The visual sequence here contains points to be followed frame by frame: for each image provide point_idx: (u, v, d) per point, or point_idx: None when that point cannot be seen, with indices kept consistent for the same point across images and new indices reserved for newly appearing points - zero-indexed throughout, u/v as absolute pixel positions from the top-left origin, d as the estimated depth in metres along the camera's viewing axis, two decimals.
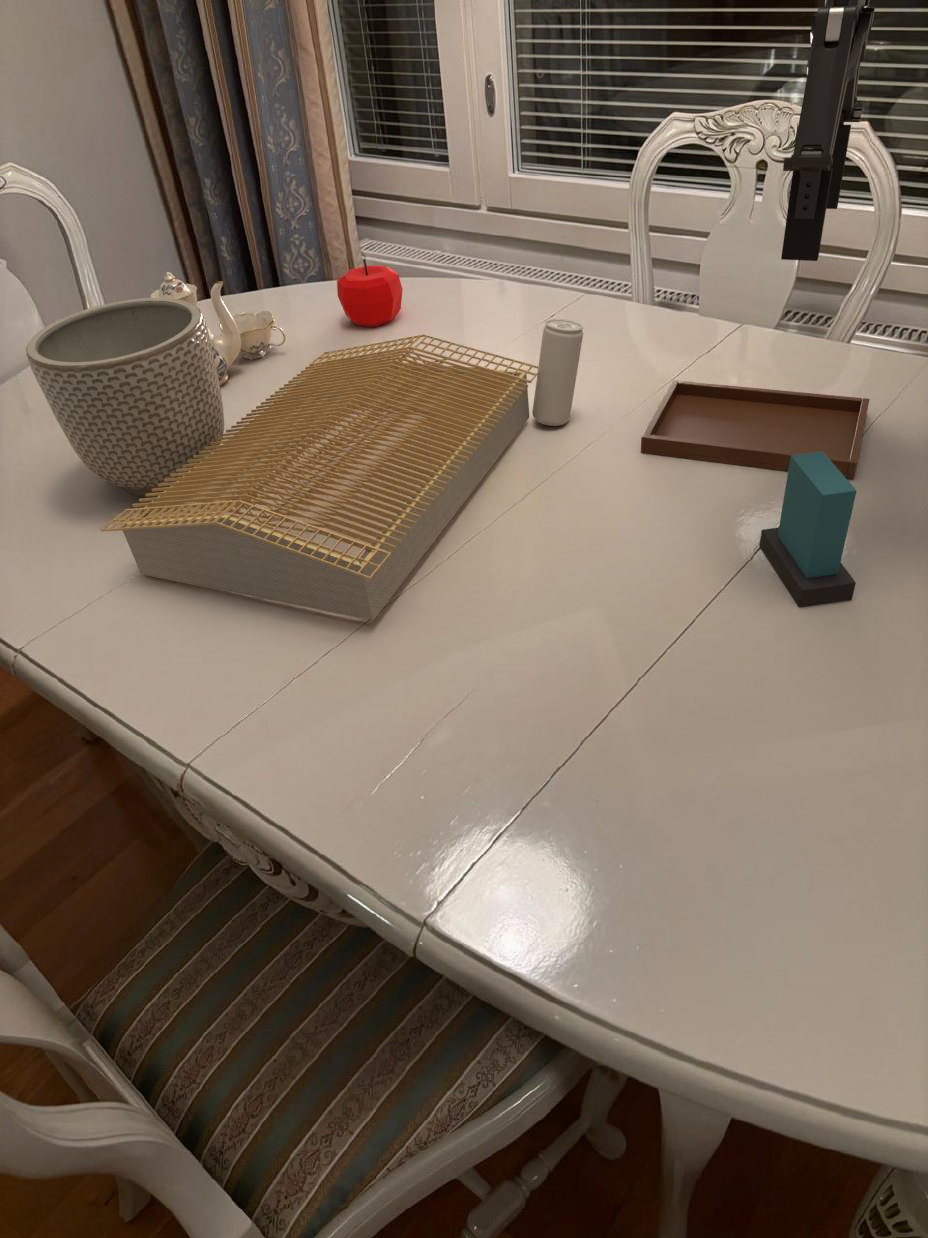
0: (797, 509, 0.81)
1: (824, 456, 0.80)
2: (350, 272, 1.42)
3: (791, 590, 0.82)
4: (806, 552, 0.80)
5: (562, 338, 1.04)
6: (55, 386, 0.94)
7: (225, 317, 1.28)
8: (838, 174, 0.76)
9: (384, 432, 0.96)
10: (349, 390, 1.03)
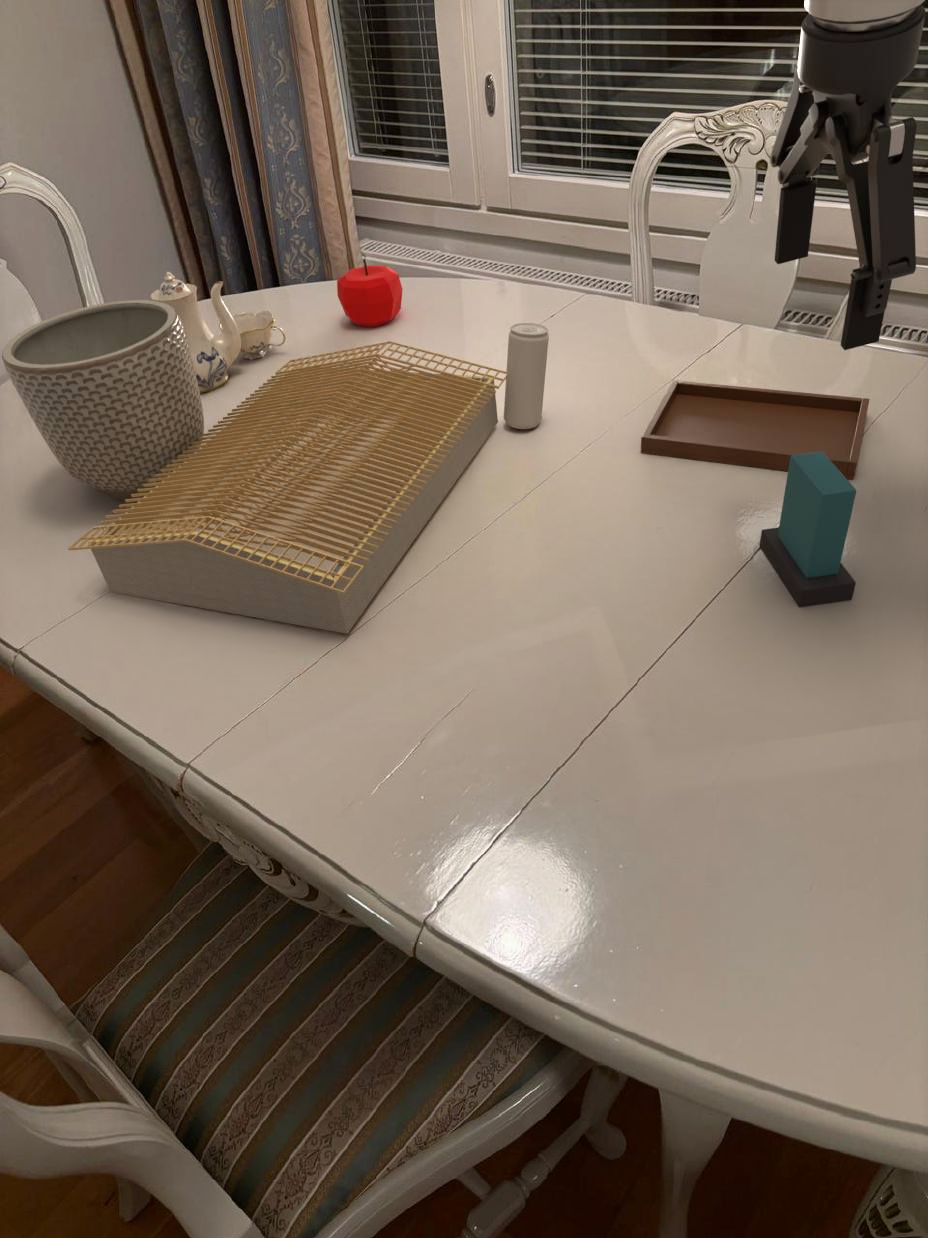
0: (797, 509, 0.81)
1: (824, 456, 0.80)
2: (350, 272, 1.42)
3: (791, 590, 0.82)
4: (806, 552, 0.80)
5: (528, 342, 1.05)
6: (21, 387, 0.95)
7: (225, 317, 1.28)
8: (807, 227, 0.76)
9: (353, 442, 0.95)
10: (316, 400, 1.03)
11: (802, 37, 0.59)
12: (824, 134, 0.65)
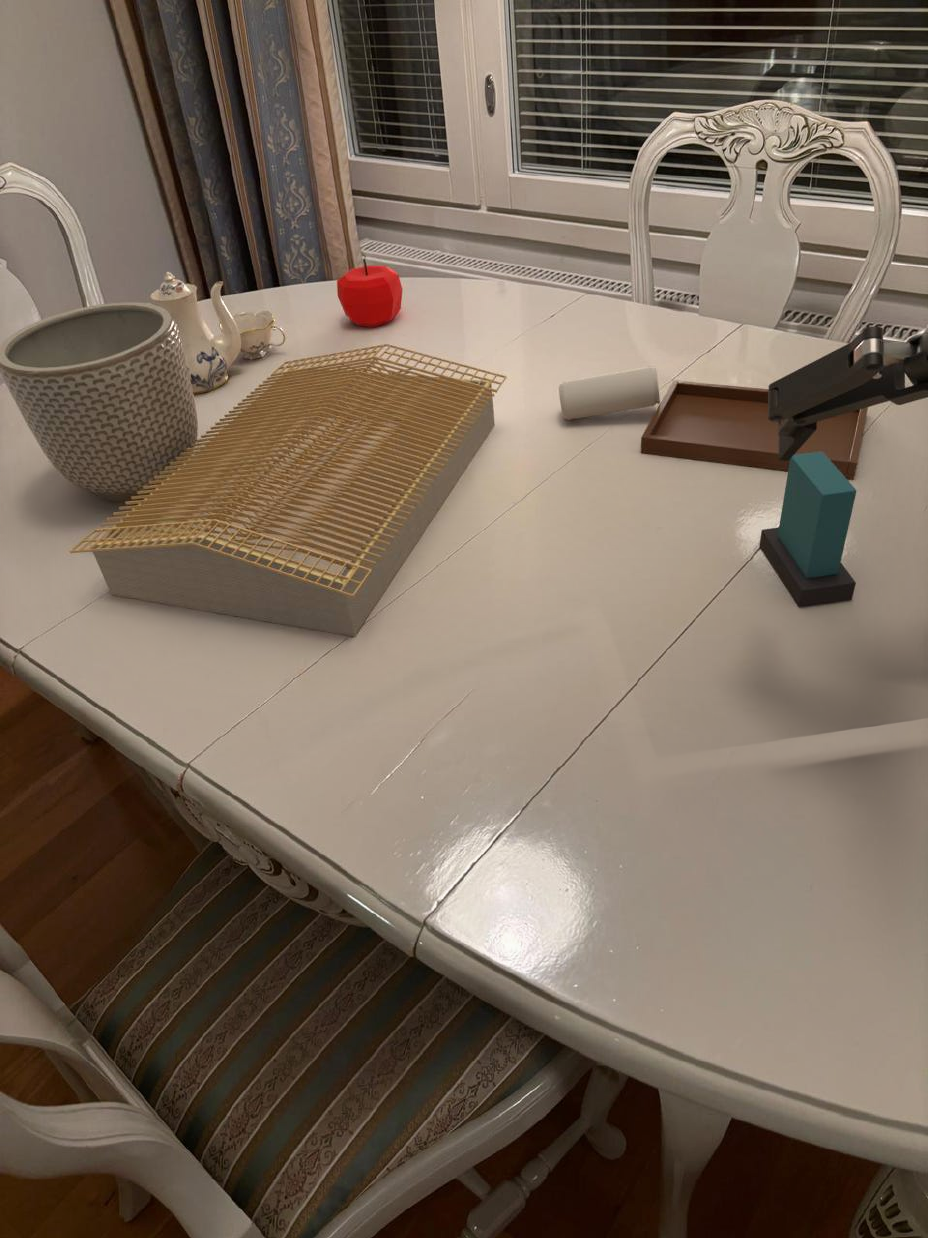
0: (797, 509, 0.81)
1: (824, 456, 0.80)
2: (350, 272, 1.42)
3: (791, 590, 0.82)
4: (806, 552, 0.80)
5: (650, 390, 1.07)
6: (13, 388, 0.95)
7: (225, 317, 1.28)
8: None
9: (355, 445, 0.96)
10: (316, 402, 1.03)
11: None
12: None
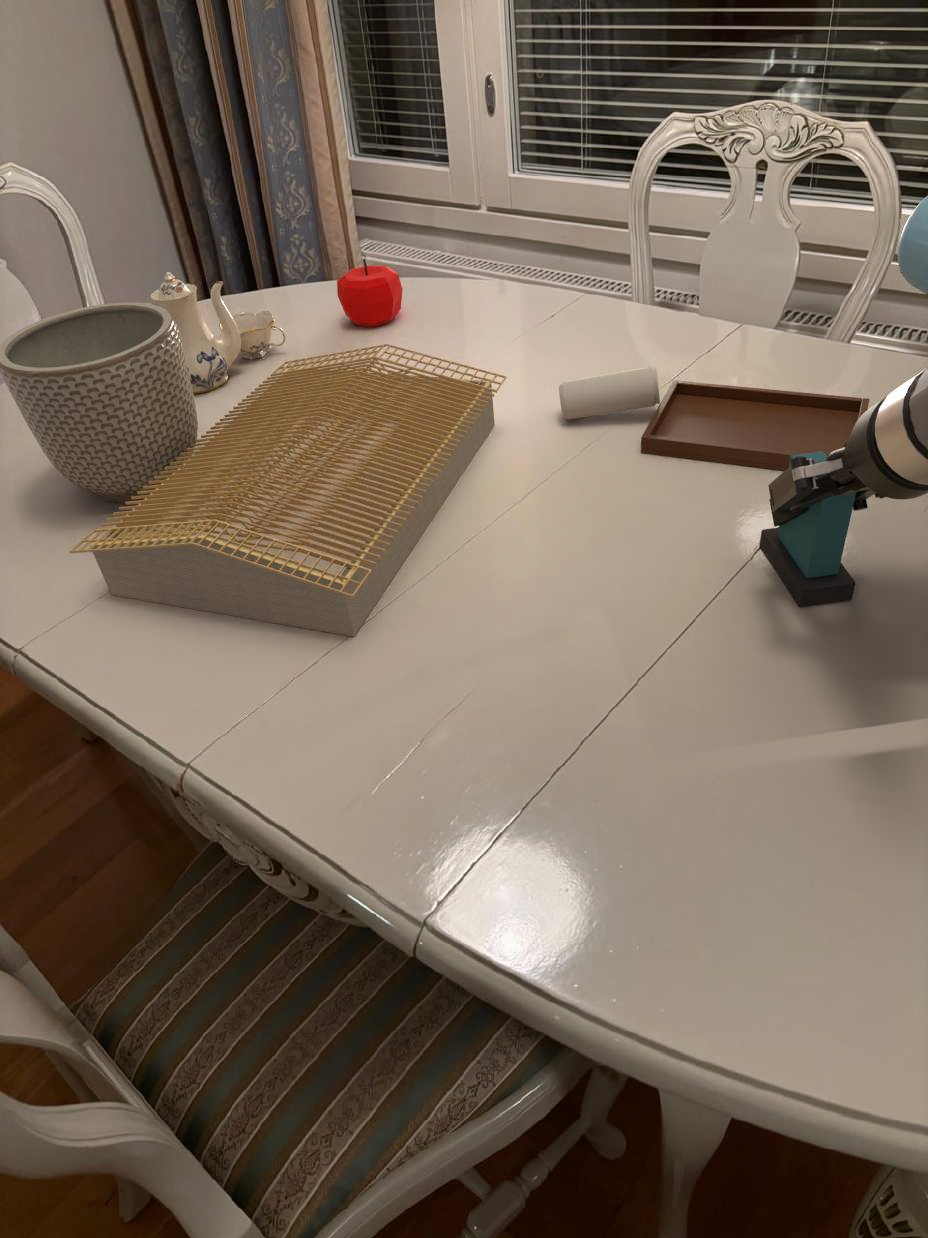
0: None
1: (824, 456, 0.80)
2: (350, 272, 1.42)
3: (791, 590, 0.82)
4: (806, 552, 0.80)
5: (650, 389, 1.07)
6: (13, 388, 0.95)
7: (225, 317, 1.28)
8: None
9: (355, 445, 0.96)
10: (316, 402, 1.03)
11: (917, 491, 0.62)
12: None
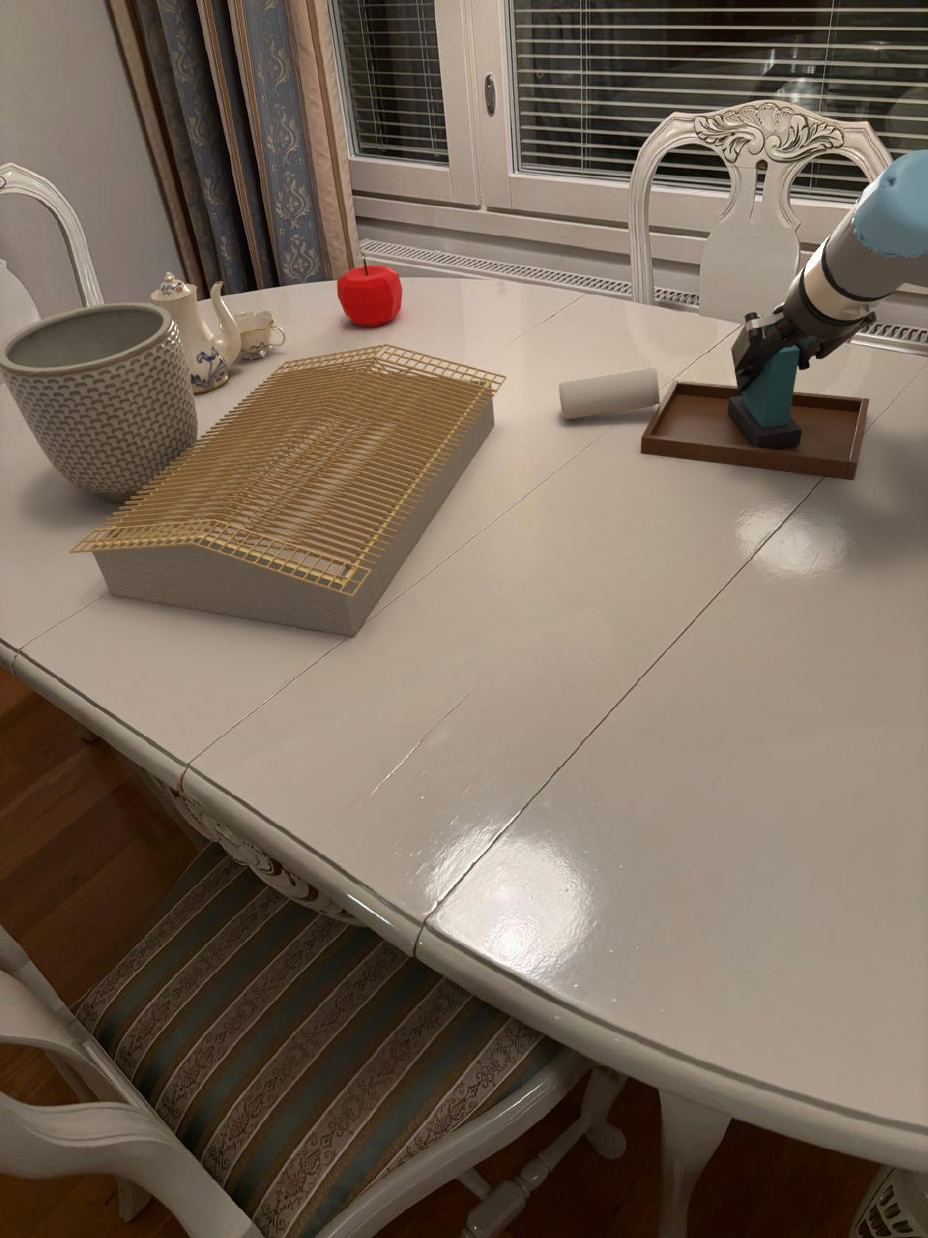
0: None
1: None
2: (350, 272, 1.42)
3: (751, 439, 1.02)
4: (762, 405, 1.00)
5: (650, 389, 1.07)
6: (13, 388, 0.95)
7: (225, 317, 1.28)
8: None
9: (355, 445, 0.96)
10: (316, 402, 1.03)
11: (837, 328, 0.82)
12: None
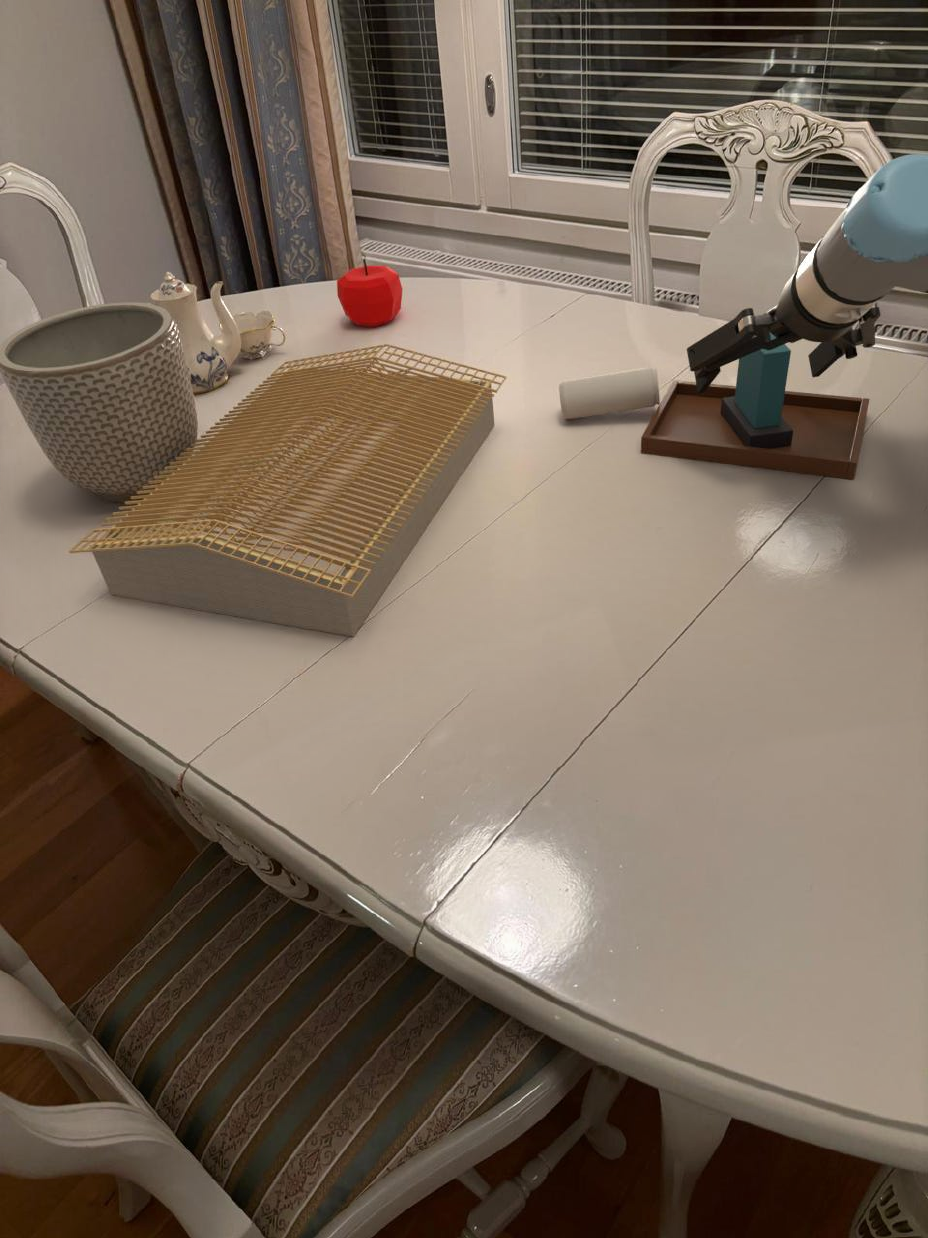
0: (747, 373, 1.01)
1: None
2: (350, 272, 1.42)
3: (743, 439, 1.03)
4: (754, 406, 1.01)
5: (650, 389, 1.08)
6: (13, 388, 0.95)
7: (225, 317, 1.28)
8: None
9: (355, 446, 0.96)
10: (316, 402, 1.03)
11: (829, 331, 0.83)
12: None
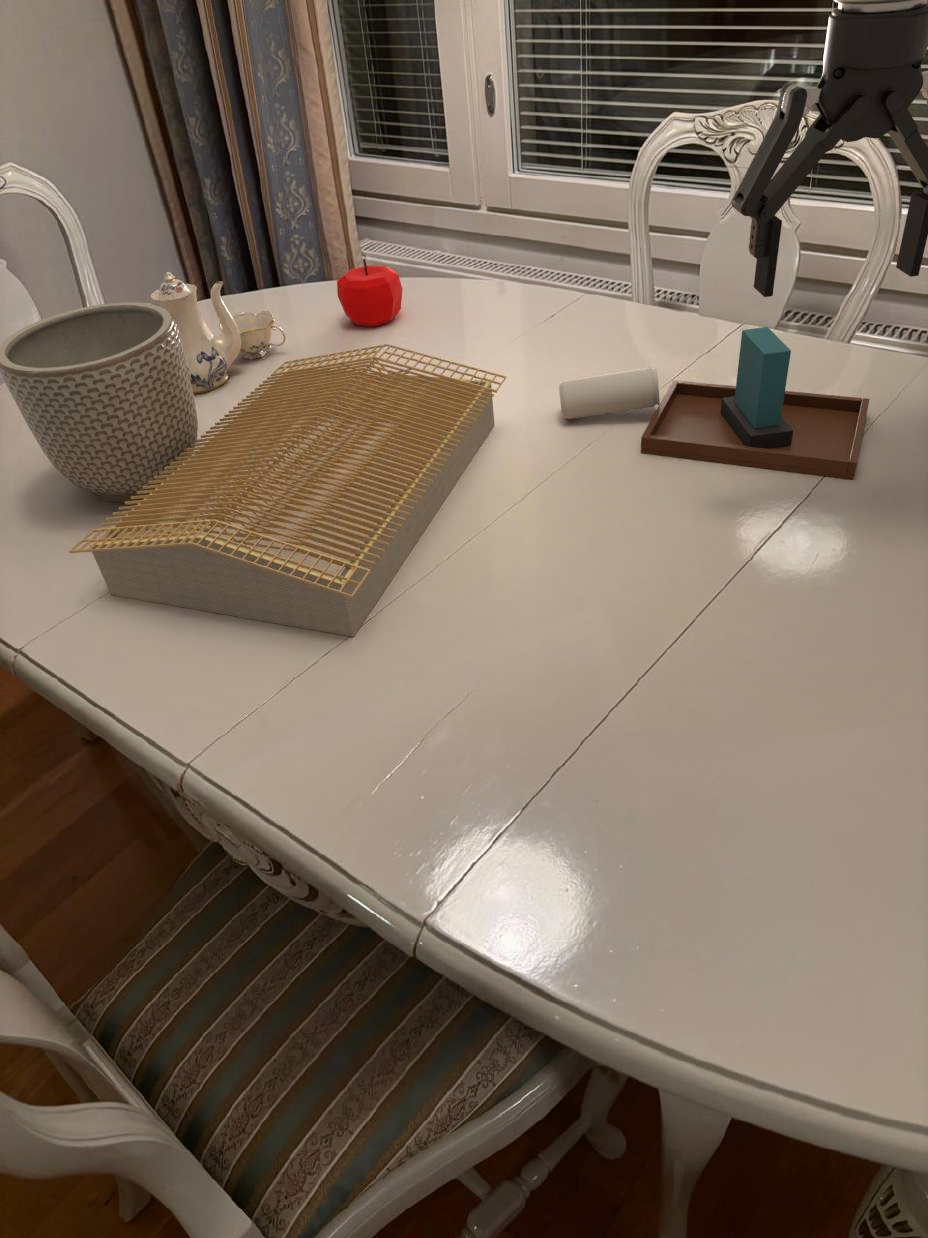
0: (747, 373, 1.01)
1: (768, 329, 1.01)
2: (350, 272, 1.42)
3: (743, 439, 1.03)
4: (754, 406, 1.01)
5: (650, 389, 1.08)
6: (13, 388, 0.95)
7: (225, 317, 1.28)
8: None
9: (355, 446, 0.96)
10: (316, 402, 1.03)
11: (895, 24, 0.66)
12: (855, 125, 0.72)
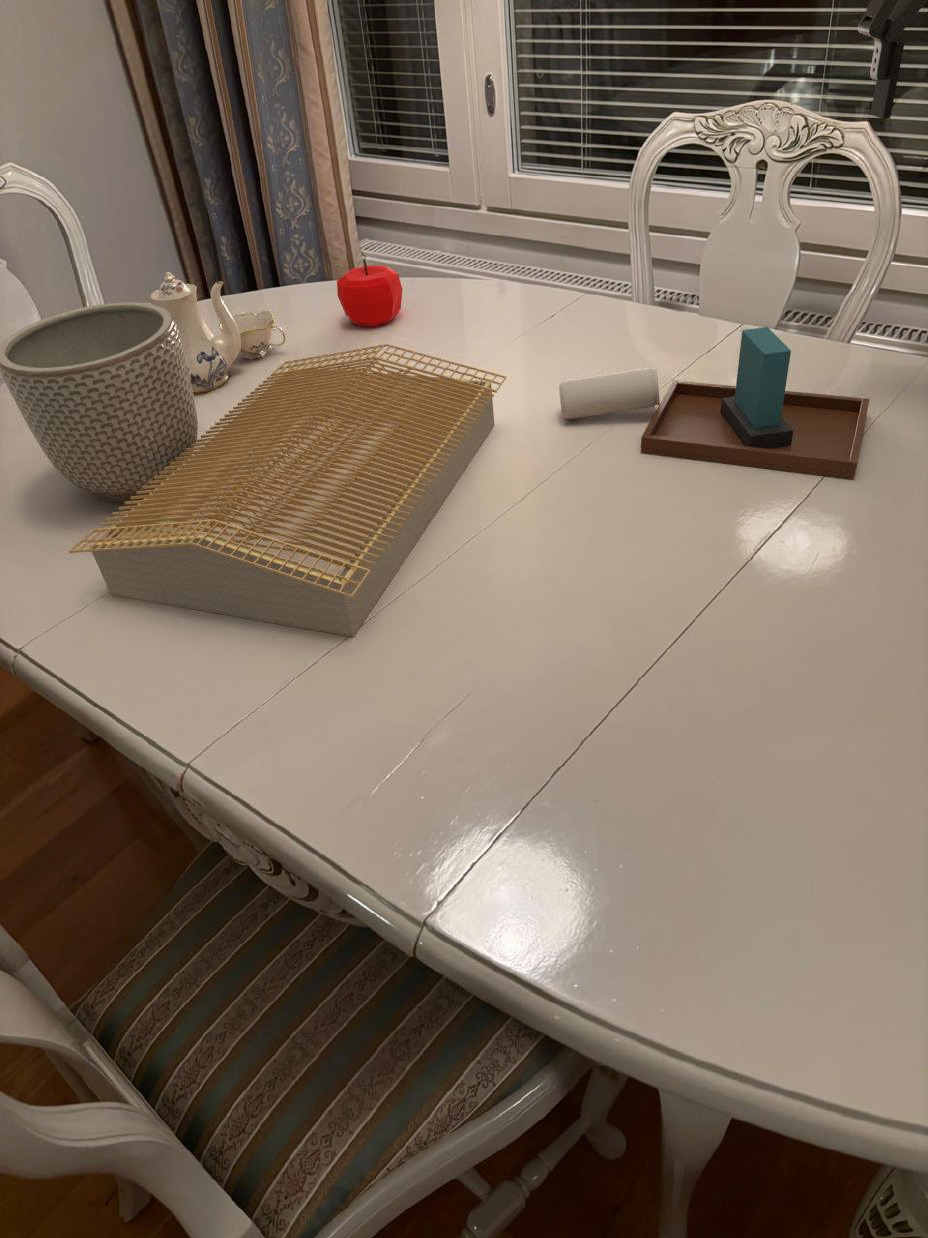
0: (747, 373, 1.01)
1: (768, 329, 1.01)
2: (350, 272, 1.42)
3: (743, 439, 1.03)
4: (754, 406, 1.01)
5: (650, 389, 1.08)
6: (13, 388, 0.95)
7: (225, 317, 1.28)
8: None
9: (355, 446, 0.96)
10: (316, 402, 1.03)
11: None
12: None
